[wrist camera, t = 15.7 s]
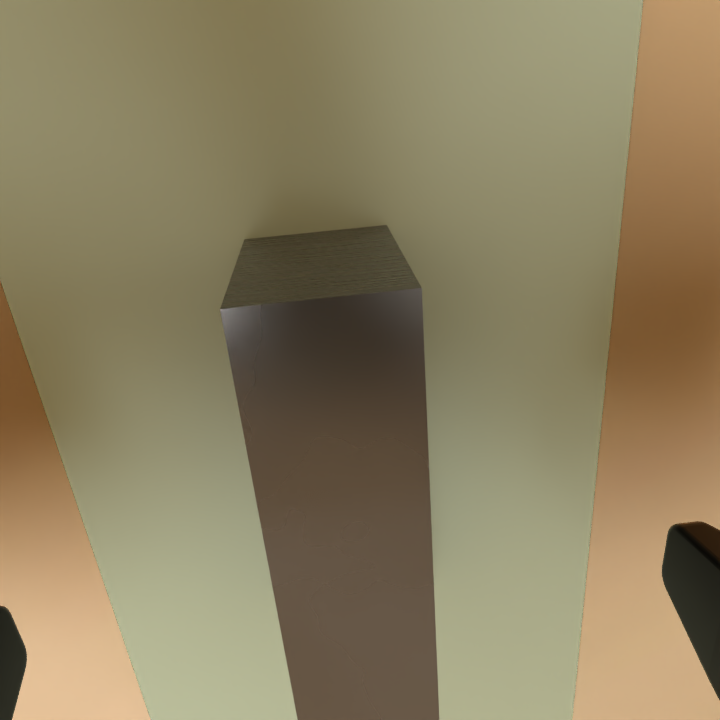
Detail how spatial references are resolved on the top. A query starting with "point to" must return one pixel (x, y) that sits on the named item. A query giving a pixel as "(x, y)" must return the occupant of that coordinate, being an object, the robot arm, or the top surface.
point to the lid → (325, 334)
